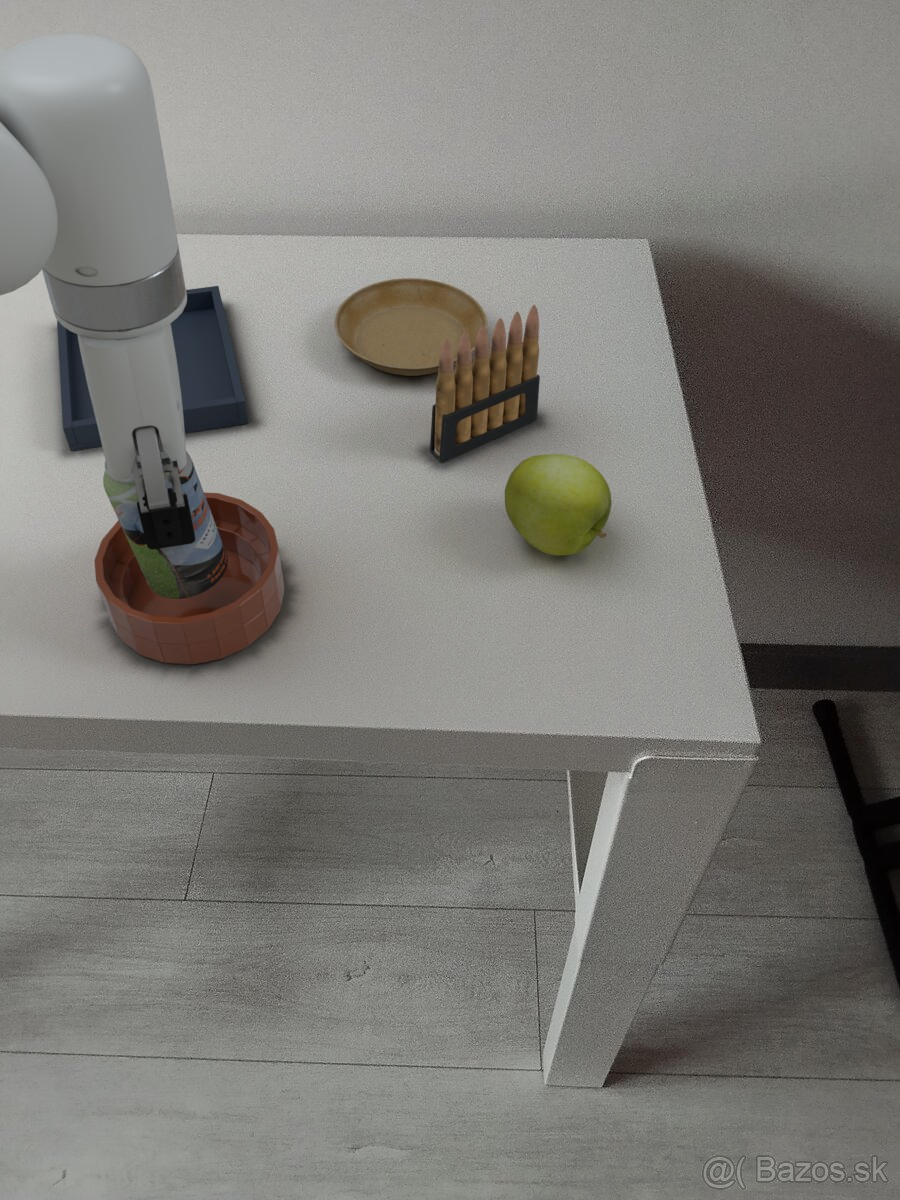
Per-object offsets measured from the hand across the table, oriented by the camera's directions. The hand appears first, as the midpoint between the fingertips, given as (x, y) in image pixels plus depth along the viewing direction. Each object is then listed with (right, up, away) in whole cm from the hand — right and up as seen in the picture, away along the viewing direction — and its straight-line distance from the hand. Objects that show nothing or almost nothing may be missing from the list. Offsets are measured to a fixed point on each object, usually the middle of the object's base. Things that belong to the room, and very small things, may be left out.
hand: (166, 507), depth 72 cm
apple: (+29, -2, +13) cm, 31 cm away
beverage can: (0, -5, +5) cm, 7 cm away
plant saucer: (+16, +19, +30) cm, 39 cm away
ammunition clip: (+23, +8, +21) cm, 32 cm away
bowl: (0, -6, +8) cm, 10 cm away
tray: (-8, +15, +26) cm, 31 cm away
